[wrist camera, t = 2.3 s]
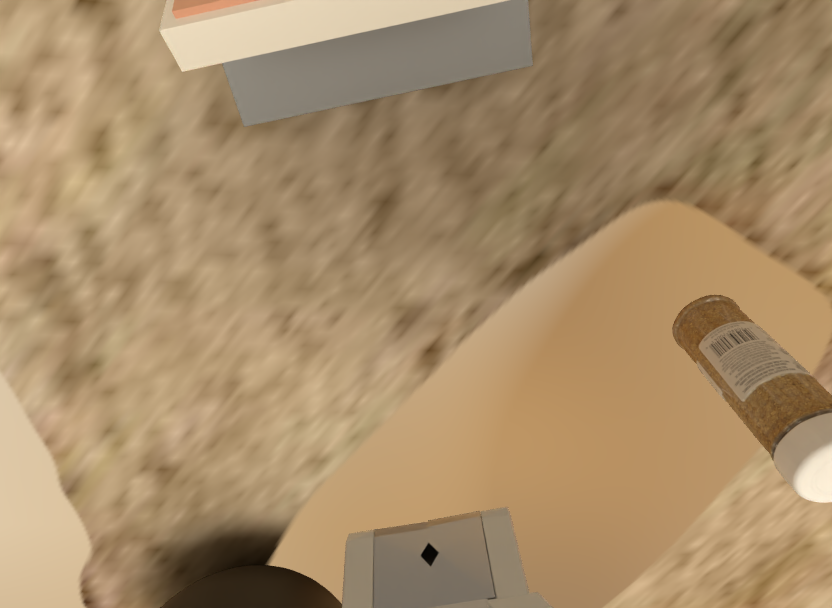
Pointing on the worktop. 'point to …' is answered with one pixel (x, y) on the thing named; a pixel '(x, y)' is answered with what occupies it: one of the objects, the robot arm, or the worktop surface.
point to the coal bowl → (255, 590)
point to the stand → (382, 62)
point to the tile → (281, 24)
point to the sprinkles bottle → (763, 390)
